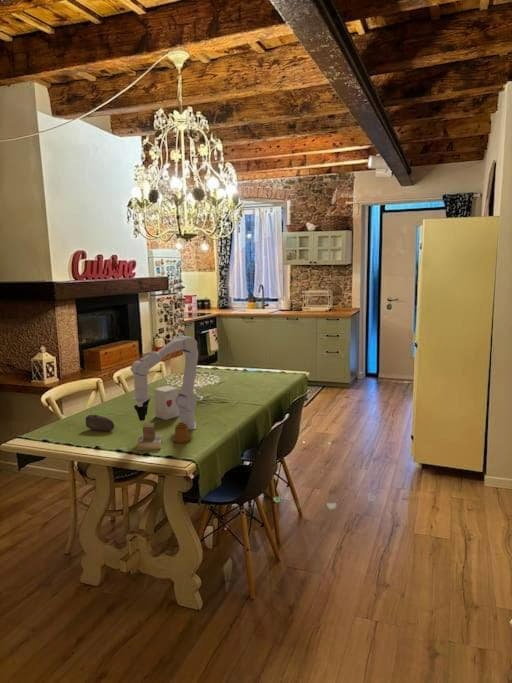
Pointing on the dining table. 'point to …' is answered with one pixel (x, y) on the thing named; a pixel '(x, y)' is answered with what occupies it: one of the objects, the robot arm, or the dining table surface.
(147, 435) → the walnut block
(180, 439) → the ornamental finial
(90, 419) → the perforated stone tool
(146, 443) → the wooden framed grey panel
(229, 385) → the dining table surface
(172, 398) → the supplement box
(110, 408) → the dining table surface
